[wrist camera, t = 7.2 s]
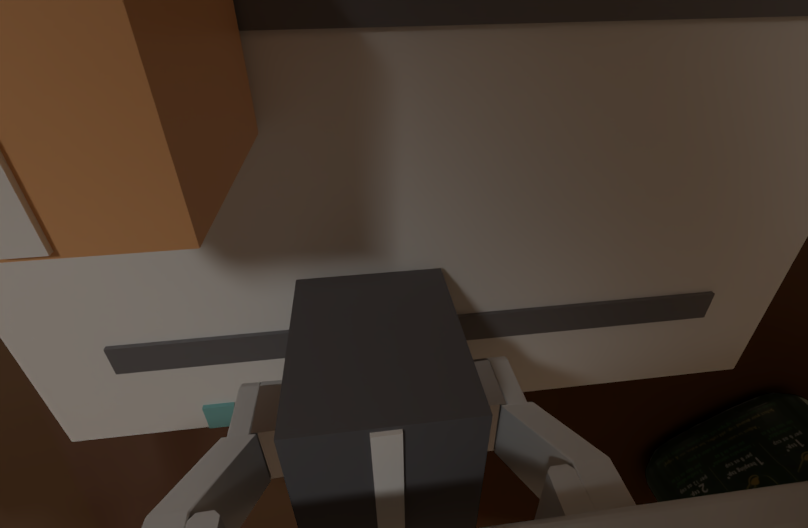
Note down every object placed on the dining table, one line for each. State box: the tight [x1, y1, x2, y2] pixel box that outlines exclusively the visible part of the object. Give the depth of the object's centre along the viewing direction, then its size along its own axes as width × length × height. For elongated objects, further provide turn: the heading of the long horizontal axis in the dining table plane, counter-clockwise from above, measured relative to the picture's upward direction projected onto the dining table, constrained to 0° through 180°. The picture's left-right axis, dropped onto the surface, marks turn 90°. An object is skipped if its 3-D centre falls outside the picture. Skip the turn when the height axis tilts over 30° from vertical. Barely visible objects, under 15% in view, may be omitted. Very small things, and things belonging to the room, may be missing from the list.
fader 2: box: [274, 268, 493, 528], centre depth 11 cm, size 4×5×5 cm
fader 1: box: [0, 0, 258, 263], centre depth 6 cm, size 4×5×5 cm
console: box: [0, 0, 808, 442], centre depth 13 cm, size 24×16×3 cm, turn 91°
